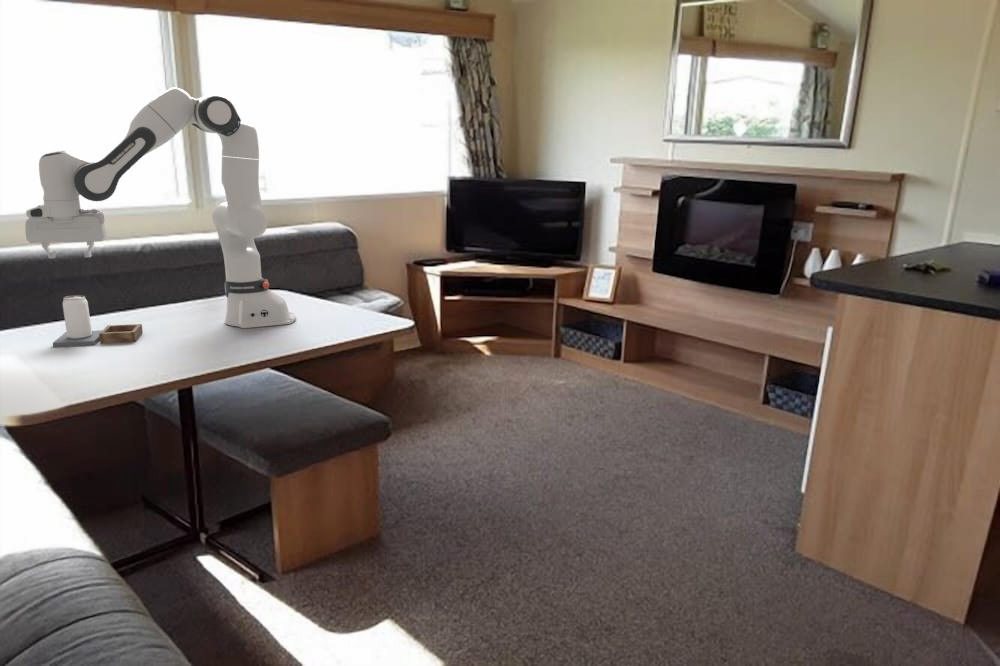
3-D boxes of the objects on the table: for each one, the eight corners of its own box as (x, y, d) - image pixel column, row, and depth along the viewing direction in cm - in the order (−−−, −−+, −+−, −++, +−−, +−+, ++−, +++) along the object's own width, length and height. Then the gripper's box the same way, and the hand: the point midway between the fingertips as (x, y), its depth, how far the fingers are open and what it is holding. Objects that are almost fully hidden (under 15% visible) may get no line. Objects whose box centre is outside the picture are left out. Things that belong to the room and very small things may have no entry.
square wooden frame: (142, 333, 228) (141, 323, 227) (135, 341, 219) (134, 332, 218) (109, 334, 226) (107, 325, 225) (100, 343, 217) (99, 333, 216)
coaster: (105, 333, 227) (105, 330, 227) (94, 344, 216) (94, 340, 215) (66, 335, 224) (65, 332, 224) (53, 346, 213) (52, 342, 213)
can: (96, 333, 222) (91, 295, 219) (83, 339, 216) (77, 300, 213) (76, 333, 223) (71, 294, 220) (62, 338, 217) (56, 299, 214)
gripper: (105, 207, 215) (112, 254, 219) (27, 209, 211) (35, 256, 214) (99, 210, 209) (106, 258, 213) (19, 211, 205) (27, 260, 209)
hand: (70, 257), depth 214 cm, fingers open, 8 cm apart
